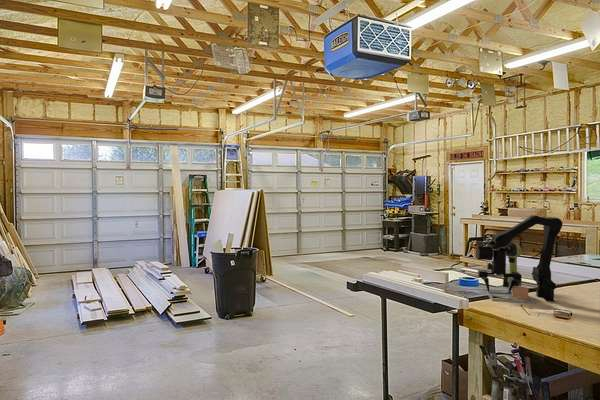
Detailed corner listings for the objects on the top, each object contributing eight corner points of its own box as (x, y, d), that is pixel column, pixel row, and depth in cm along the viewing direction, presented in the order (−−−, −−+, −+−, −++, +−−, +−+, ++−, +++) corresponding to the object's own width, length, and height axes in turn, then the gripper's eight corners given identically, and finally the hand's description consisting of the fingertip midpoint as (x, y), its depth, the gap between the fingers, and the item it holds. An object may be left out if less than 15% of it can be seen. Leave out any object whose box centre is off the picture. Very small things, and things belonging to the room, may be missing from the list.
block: (525, 295, 209) (525, 286, 208) (528, 298, 204) (528, 288, 204) (511, 294, 210) (512, 285, 210) (514, 297, 205) (514, 288, 205)
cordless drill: (513, 295, 215) (514, 245, 215) (498, 293, 220) (499, 243, 219) (522, 287, 234) (523, 240, 233) (507, 285, 238) (508, 239, 237)
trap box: (526, 298, 210) (526, 293, 210) (535, 307, 195) (535, 302, 194) (486, 295, 215) (486, 291, 215) (491, 303, 199) (492, 299, 199)
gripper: (516, 258, 214) (516, 290, 215) (476, 256, 219) (475, 287, 220) (522, 262, 204) (521, 295, 204) (479, 260, 208) (478, 292, 209)
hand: (498, 292), depth 209 cm, fingers open, 9 cm apart
